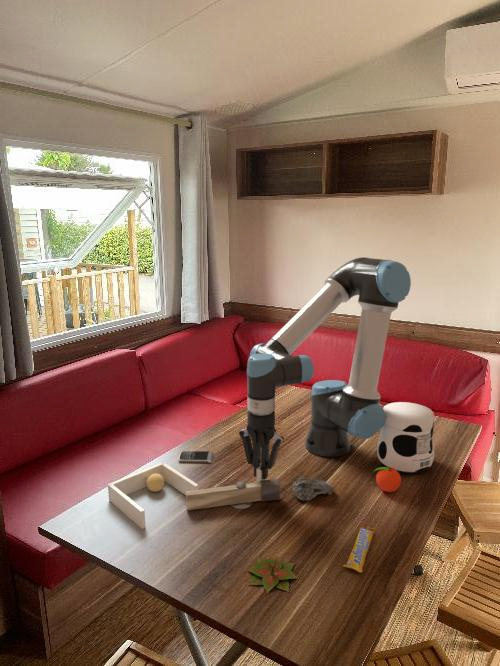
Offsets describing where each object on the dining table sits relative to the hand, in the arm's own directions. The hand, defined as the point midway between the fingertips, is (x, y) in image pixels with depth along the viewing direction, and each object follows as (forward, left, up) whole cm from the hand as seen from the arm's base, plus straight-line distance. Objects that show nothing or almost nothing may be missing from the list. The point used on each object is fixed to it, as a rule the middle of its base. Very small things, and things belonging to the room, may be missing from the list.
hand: (260, 487), depth 139 cm
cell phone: (+26, -14, -3) cm, 30 cm away
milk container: (-39, -29, -2) cm, 49 cm away
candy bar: (-29, +16, -3) cm, 33 cm away
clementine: (-34, -12, -2) cm, 36 cm away
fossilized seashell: (-14, -4, -2) cm, 15 cm away
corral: (+27, +12, -2) cm, 30 cm away
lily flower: (-11, +30, -3) cm, 32 cm away
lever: (+6, +7, -1) cm, 9 cm away
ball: (+29, +7, +3) cm, 30 cm away
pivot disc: (+4, +6, -2) cm, 7 cm away
